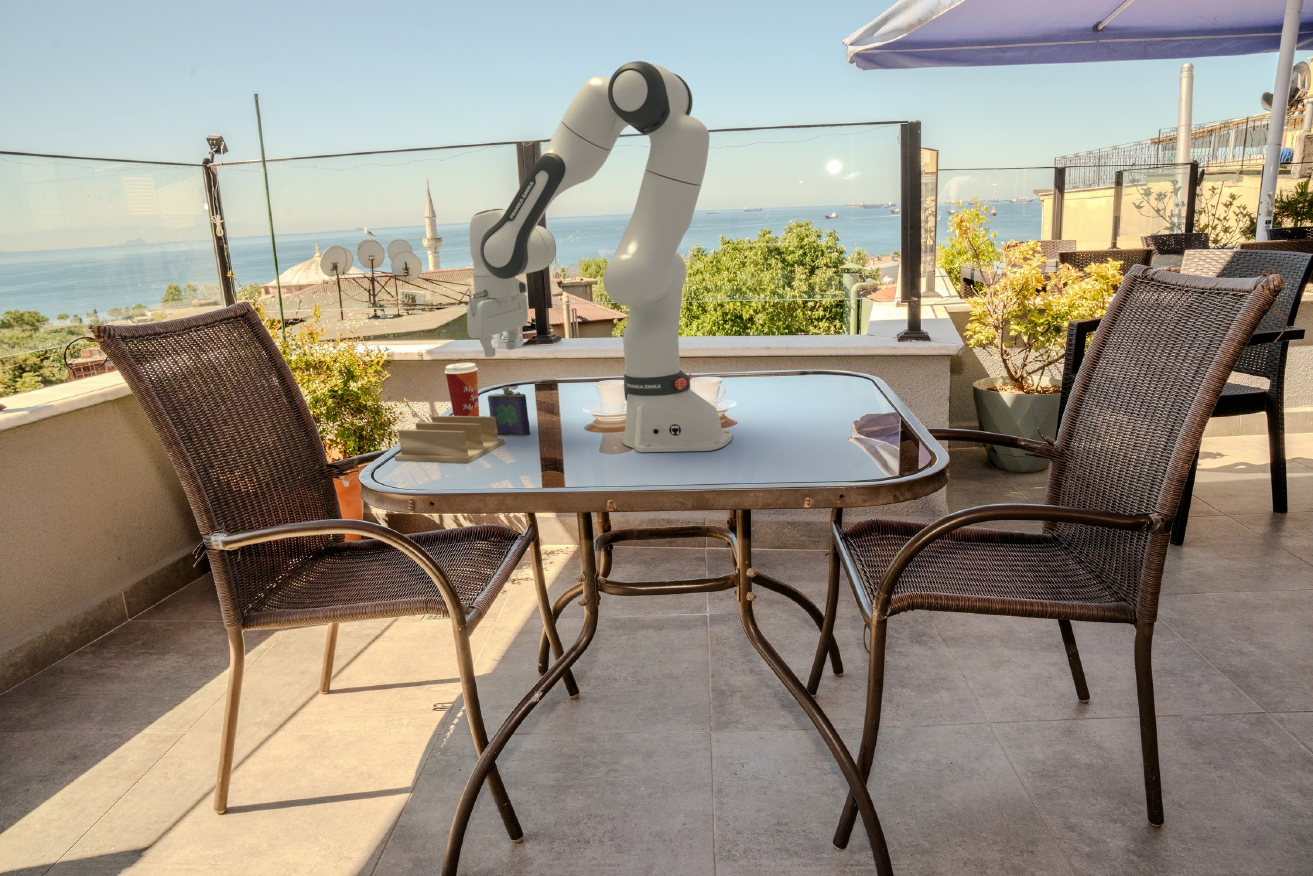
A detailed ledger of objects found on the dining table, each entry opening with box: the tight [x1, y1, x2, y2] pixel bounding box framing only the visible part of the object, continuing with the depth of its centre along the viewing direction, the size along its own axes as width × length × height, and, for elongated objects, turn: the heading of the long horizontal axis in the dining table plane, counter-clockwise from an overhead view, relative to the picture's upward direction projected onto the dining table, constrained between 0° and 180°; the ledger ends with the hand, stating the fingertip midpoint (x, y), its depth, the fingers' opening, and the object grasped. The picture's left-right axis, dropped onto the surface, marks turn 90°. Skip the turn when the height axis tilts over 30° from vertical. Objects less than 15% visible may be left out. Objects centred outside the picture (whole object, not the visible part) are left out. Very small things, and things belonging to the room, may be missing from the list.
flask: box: [487, 385, 531, 437], centre depth 191 cm, size 9×3×11 cm, turn 71°
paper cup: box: [444, 362, 480, 416], centre depth 203 cm, size 8×8×14 cm
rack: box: [394, 414, 506, 464], centre depth 180 cm, size 15×17×6 cm
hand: (501, 352), depth 187 cm, fingers open, 8 cm apart
